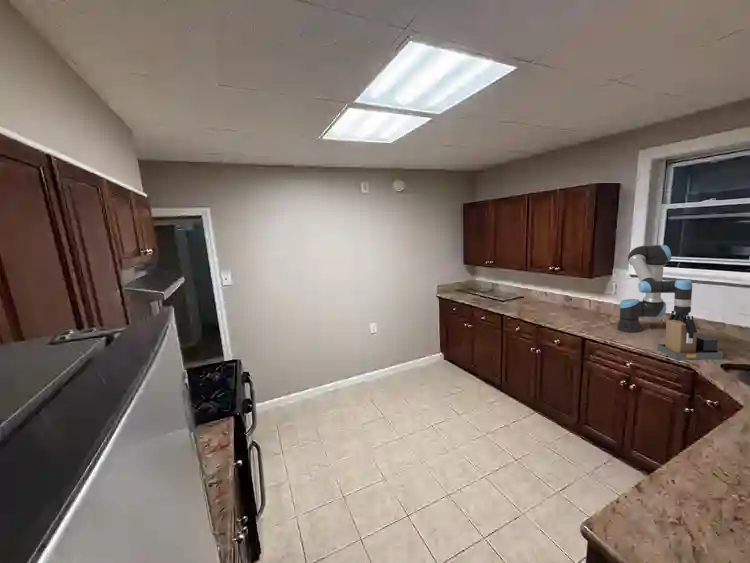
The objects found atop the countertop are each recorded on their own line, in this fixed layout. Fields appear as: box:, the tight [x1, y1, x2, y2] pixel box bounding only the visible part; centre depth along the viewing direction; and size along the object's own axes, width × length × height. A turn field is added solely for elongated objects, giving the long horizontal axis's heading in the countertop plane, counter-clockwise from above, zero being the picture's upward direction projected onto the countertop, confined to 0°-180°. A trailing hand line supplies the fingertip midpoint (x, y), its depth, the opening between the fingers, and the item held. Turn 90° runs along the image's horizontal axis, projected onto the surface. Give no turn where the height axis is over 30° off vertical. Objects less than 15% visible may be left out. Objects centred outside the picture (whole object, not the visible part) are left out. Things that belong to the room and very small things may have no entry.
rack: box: [657, 333, 724, 361], centre depth 199 cm, size 17×24×11 cm
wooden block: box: [664, 319, 698, 353], centre depth 200 cm, size 10×10×20 cm
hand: (680, 339), depth 200 cm, fingers open, 13 cm apart
